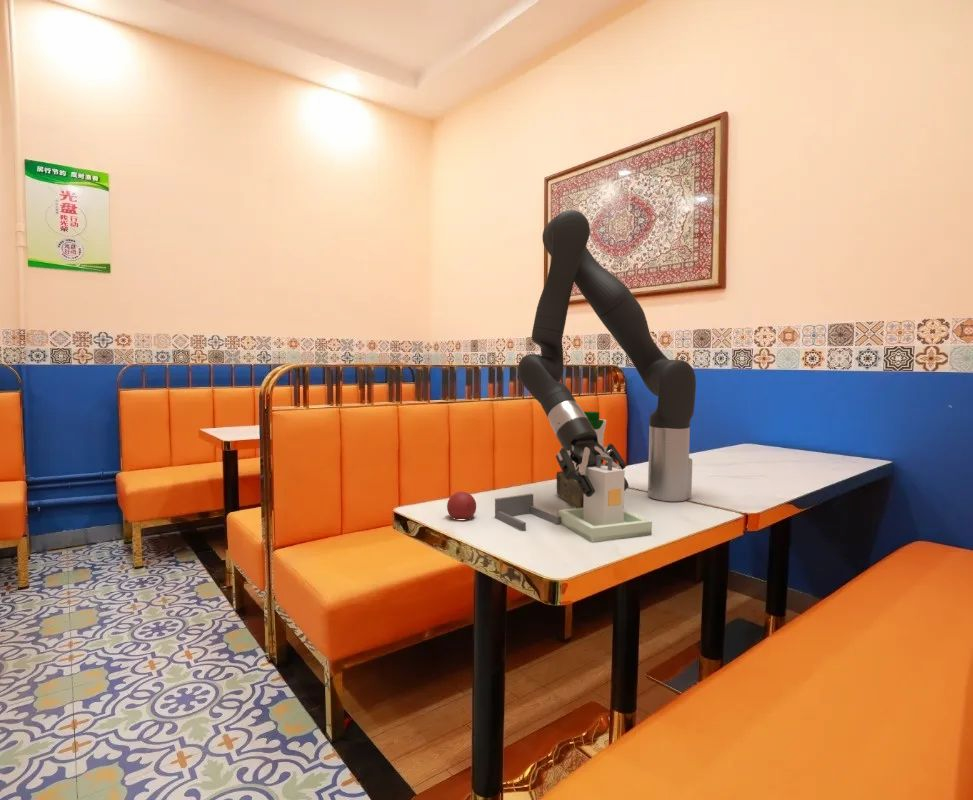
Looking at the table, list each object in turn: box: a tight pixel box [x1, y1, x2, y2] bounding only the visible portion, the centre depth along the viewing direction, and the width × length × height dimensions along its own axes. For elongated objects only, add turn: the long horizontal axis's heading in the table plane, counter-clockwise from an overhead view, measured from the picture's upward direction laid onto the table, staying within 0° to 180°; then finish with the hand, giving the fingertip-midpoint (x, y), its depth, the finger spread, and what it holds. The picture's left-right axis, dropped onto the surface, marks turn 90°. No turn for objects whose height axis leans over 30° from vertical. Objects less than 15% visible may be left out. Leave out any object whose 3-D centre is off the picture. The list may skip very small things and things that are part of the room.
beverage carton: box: [555, 470, 584, 508], centre depth 123 cm, size 8×19×7 cm, turn 12°
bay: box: [494, 493, 561, 532], centre depth 110 cm, size 9×10×4 cm
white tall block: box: [583, 455, 625, 526], centre depth 105 cm, size 5×6×13 cm
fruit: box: [446, 491, 477, 520], centre depth 111 cm, size 6×6×8 cm
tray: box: [557, 507, 653, 543], centre depth 105 cm, size 13×13×2 cm
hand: (608, 492), depth 103 cm, fingers open, 8 cm apart
